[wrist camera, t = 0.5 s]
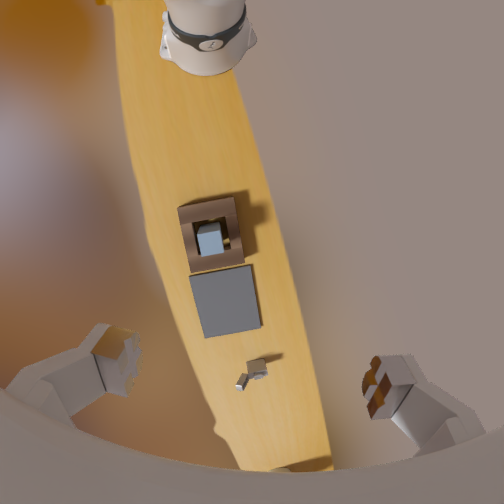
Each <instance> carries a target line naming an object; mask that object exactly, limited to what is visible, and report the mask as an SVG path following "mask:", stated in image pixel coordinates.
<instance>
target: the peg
mask: <svg viewBox="0 0 504 504" xmlns="http://www.w3.org/2000/svg"><path fill="white" fill-rule="evenodd" d="M197 237H198V242H199V247H200V251H201V256H202V257H203V256H209V255H214V254H219V253H224V245H223V237H222V232H221V227H220V222H215V223H209V224H204V225H200V228H199V231H198V233H197Z"/></svg>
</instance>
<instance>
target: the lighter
mask: <svg viewBox="0 0 504 504" xmlns="http://www.w3.org/2000/svg"><path fill="white" fill-rule="evenodd" d="M246 364H247V370H248V374H244V373H242V375H241V376H240V378H239V380H238V382H237V384H236V389H237V390H238V391H244V389H245V387H246V385H247V383H248V381H249V379H253V378H255V380H256V379H261V378H263V377H264V376H267V375H268V372H267V368H266V364H265V360H264V358H263V359H258V360H253V361H248V362H246Z"/></svg>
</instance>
